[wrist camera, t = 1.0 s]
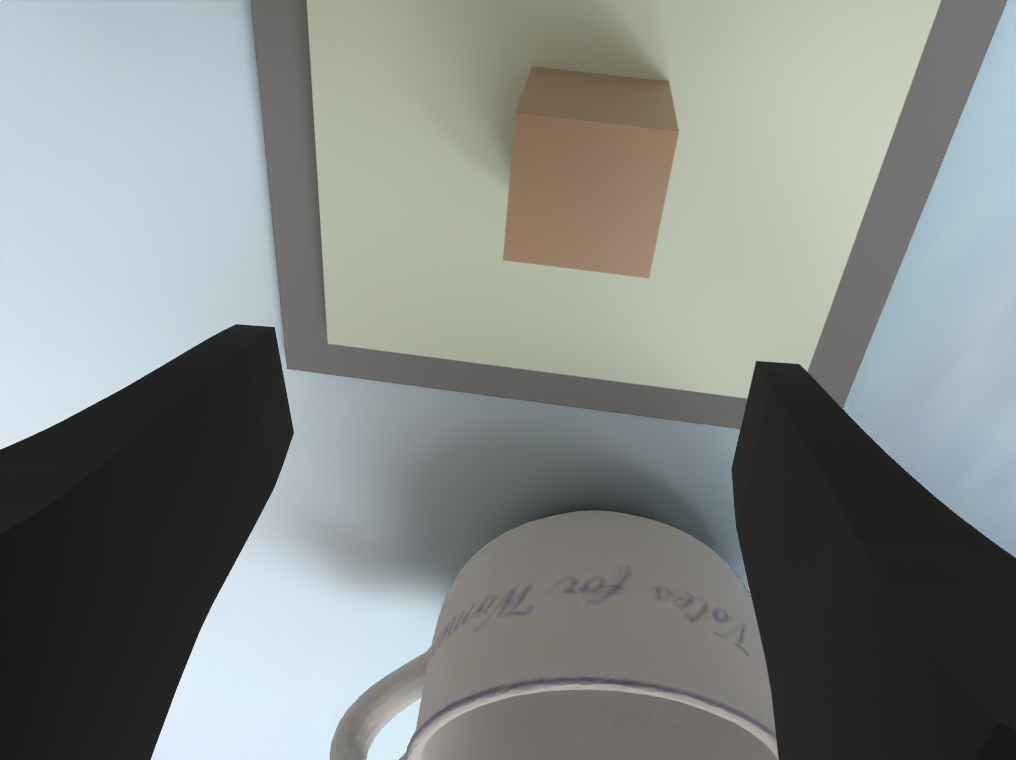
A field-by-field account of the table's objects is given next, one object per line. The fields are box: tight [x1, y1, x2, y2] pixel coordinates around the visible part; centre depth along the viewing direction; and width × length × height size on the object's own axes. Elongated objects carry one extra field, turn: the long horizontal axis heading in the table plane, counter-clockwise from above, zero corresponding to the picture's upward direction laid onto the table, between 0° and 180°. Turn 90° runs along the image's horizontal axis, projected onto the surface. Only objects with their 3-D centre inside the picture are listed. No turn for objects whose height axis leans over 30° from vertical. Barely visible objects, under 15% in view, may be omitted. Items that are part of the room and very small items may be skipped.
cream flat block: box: [307, 0, 941, 399], centre depth 17 cm, size 13×13×4 cm
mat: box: [251, 0, 1007, 429], centre depth 19 cm, size 16×16×1 cm
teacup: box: [330, 510, 779, 760], centre depth 25 cm, size 14×11×8 cm
